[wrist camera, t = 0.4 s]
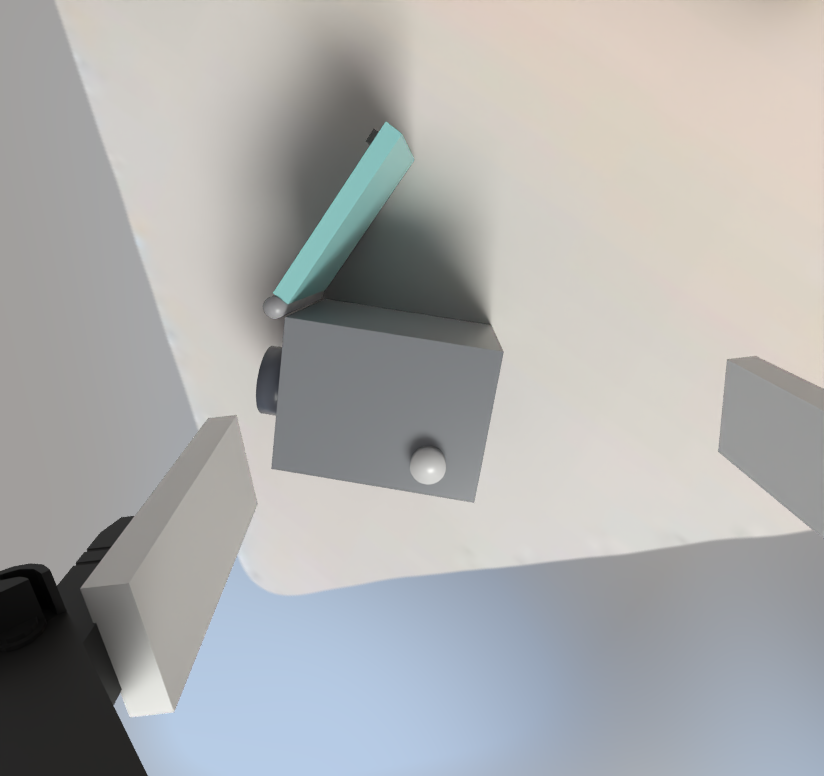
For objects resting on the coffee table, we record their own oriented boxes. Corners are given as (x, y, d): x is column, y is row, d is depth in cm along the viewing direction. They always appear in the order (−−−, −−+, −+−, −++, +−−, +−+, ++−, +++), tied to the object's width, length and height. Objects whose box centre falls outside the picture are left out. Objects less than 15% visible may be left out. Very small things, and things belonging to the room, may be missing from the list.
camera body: (297, 294, 40) (243, 313, 30) (491, 325, 40) (504, 354, 29) (286, 412, 43) (233, 468, 32) (469, 442, 42) (474, 509, 32)
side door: (317, 304, 40) (277, 323, 31) (293, 286, 40) (245, 299, 31) (415, 161, 37) (403, 134, 28) (390, 141, 37) (369, 107, 28)
